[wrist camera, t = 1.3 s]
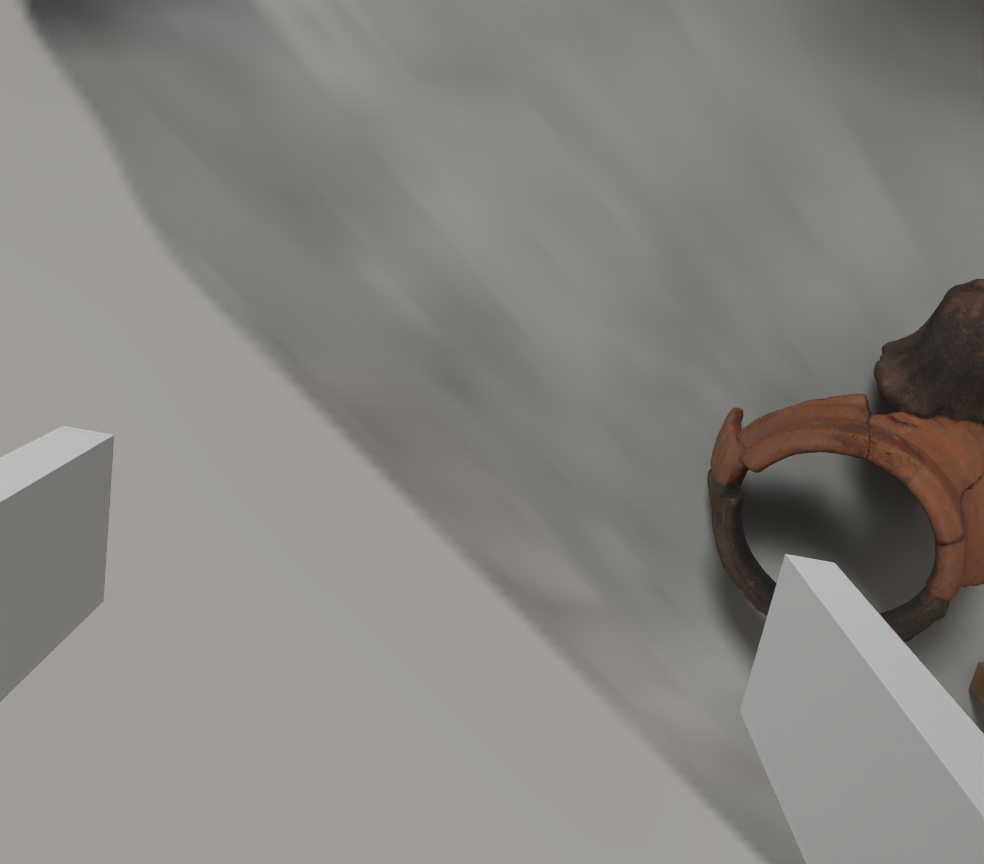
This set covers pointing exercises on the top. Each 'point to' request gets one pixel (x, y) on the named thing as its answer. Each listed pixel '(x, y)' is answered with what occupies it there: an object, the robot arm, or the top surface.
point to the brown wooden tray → (978, 683)
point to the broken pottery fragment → (884, 453)
